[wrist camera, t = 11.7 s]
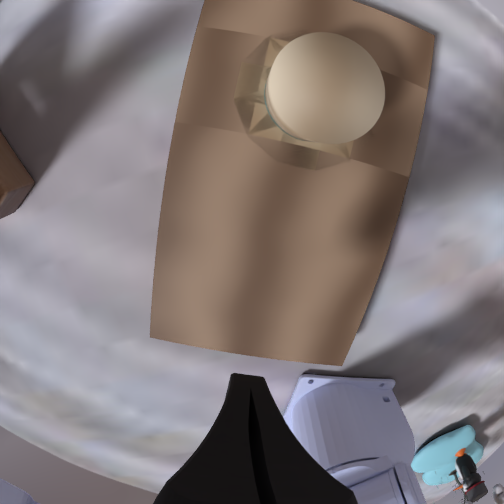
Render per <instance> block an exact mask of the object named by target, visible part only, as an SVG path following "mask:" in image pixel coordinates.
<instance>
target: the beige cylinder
mask: <svg viewBox="0 0 504 504" xmlns="http://www.w3.org/2000/svg"><path fill="white" fill-rule="evenodd" d="M264 98H265V104H266V108H267V111H268V113H269V115H270V117H271V119H272V120H273V121H274V123H275V124H276V125H277V126H278V127H279V128H280V129H281V130H282V131H283V132H285V133H286V134H288V135H290V136H291V137H294V138H296V139H299V140H302V141H308V142H317V143H325V144H341V143H346V142H350V141H353V140H355V139H357V138H359V137H361V136H363V135H364V134H366V133H367V132H368V131H369V130H370V129H371V128H372V127H373V126H374V125H375V123H376V122H377V120H378V119H379V117H380V115H381V112H382V110H383V106H384V101H385V86H384V81H383V77H382V74H381V71H380V69H379V67H378V65H377V64H376V62H375V60H374V59H373V58H372V56H371V55H370V54H369V53H368V52H367V51H366V50H365V49H364V48H363V47H362V46H360V45H359V44H357V43H356V42H355V41H353V40H351V39H349V38H347V37H344V36H342V35H338V34H334V33H327V32H316V33H310V34H306V35H303V36H300V37H298V38H296V39H294V40H293V41H291V42H290V43H288V44H287V45H286V46H285V47H284V48H283V49H282V50H281V51H280V52H279V54H278V55H277V57H276V59H275V61H274V63H273V65H272V68H271V70H270V73H269V76H268V78H267V81H266V84H265V90H264Z"/></svg>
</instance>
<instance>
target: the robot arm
mask: <svg viewBox="0 0 504 504" xmlns="http://www.w3.org/2000/svg"><path fill="white" fill-rule="evenodd" d="M311 379H312V380H311ZM309 380H311V381H309ZM394 386H395V381H394V380H393V379H371V378H350V377H335V376H321V375H310V374H304V375H302V376H300V378H299V380H298V382H297V385H296V387H295V390H294V392H293V395H292V397H291V399H290V402H289V404H288V406H287V409H286V411H285V413H284V416H283V417H282V415H281V413H280V411H279V409H278V407H277V406H276V404H275V402H274V399H273V397H272V395H271V393H270V391H269V388H268V386H267V383H266V381H265V379H264V377H260V376H252V375H244V374H237V373H233V374H231V377H230V381H229V385H228V389H227V393H226V398H225V401H224V404H223V406H222V409H221V411H220V413H219V415H218V417H217V419H216V420H215V422H214V424H213V426H212V428H211V429H210V431H209V432H208V434H207V436H206V437H205V439H204V440H203V441H202V443H201V444H200V446H199V447H198V448H197V450H196V451H195V452H194V453H193V455H192V456H191V457H190V458H189V459H188V460H187V462H186V463H185V464H184V465H183V466H182V467H181V468H180V469H179V470H178V471H177V472H176V473H175V474H174V475H173V476H172V477H171V478H170V479H169V480H168V481H167V482H166V484H165V485H164V487H163V488H162V490H161V491H160V493H159V494H158V496H157V497H156V499H155V501H154V503H153V504H427V503H426V501H425V498H424V496H423V493H422V491H421V488H420V486H419V483H418V481H417V478H416V476H415V473H414V471H413V469H412V467H411V463H412V461H413V458H414V452H415V442H414V436H413V433H412V430H411V428H410V426H409V424H408V422H407V419H406V417H405V415H404V413H403V411H402V409H401V407H400V405H399V403H398V401H397V399H396V397H395V395H394V393H393V391H392V389H393V387H394ZM0 504H40V503H37V502H35V501H34V500H33V498H32V497H31V496H30V495H29V494H28V493H27V492H25V491H24V490H22V489H20V488H18V487H16V486H14V485H12V484H11V483H9V482H7V481H5V480H3V479H1V478H0Z"/></svg>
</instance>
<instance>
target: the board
mask: <svg viewBox="0 0 504 504" xmlns="http://www.w3.org/2000/svg"><path fill="white" fill-rule="evenodd" d="M316 32H327V33H334V34H338V35H342V36H344V37H347V38H349V39H351V40H353V41H355V42H356V43H357V44H359V45H360V46H362V47H363V48H364V49H365V50H366V51H367V52H368V53H369V54H370V55H371V56H372V58H373V59H374V60H375V62H376V64H377V65H378V67H379V69H380V71H381V74H382V77H383V81H384V86H385V101H384V106H383V110H382V112H381V115H380V117H379V119H378V120H377V122H376V123H375V125H374V126H373V127H372V128H371V129H370V130H369V131H368V132H367V133H366V134H364V135H363V136H361V137H359V138H357V139H355V140H353V141H350V142H346V143H341V144H325V143H317V142H308V141H302V140H299V139H296V138H294V137H291V136H290V135H288V134H286V133H285V132H283V131H282V130H281V129H280V128H279V127H278V126H277V125H276V124H275V123H274V121H273V120H272V119H271V117H270V115H269V113H268V111H267V108H266V104H265V98H264V90H265V84H266V81H267V78H268V76H269V73H270V70H271V68H272V65H273V63H274V61H275V59H276V57H277V55H278V54H279V52H280V51H281V50H282V49H283V48H284V47H285V46H286V45H287V44H288V43H290V42H291V41H293V40H294V39H296V38H298V37H300V36H303V35H306V34H310V33H316ZM434 39H435V36H434V35H432V34H430V33H428V32H426V31H424V30H422V29H420V28H418V27H416V26H414V25H412V24H410V23H408V22H405V21H403V20H401V19H399V18H396V17H394V16H392V15H389V14H387V13H385V12H382V11H380V10H377V9H375V8H372V7H369V6H367V5H364V4H361V3H358V2H356V1H353V0H205V1H204V4H203V8H202V11H201V14H200V18H199V22H198V25H197V29H196V32H195V36H194V40H193V44H192V48H191V52H190V56H189V60H188V64H187V68H186V72H185V77H184V81H183V86H182V90H181V95H180V100H179V104H178V109H177V114H176V119H175V124H174V130H173V135H172V141H171V146H170V152H169V158H168V164H167V170H166V177H165V184H164V190H163V198H162V205H161V213H160V221H159V229H158V238H157V247H156V257H155V268H154V279H153V292H152V306H151V324H150V337H151V338H156V339H160V340H165V341H170V342H175V343H180V344H185V345H190V346H195V347H201V348H206V349H212V350H217V351H223V352H229V353H236V354H242V355H249V356H256V357H263V358H270V359H278V360H286V361H295V362H304V363H314V364H324V365H336V366H342V365H343V362H344V360H345V358H346V356H347V354H348V351H349V349H350V347H351V345H352V342H353V340H354V338H355V335H356V333H357V331H358V328H359V326H360V323H361V321H362V318H363V316H364V314H365V311H366V309H367V306H368V303H369V301H370V298H371V296H372V293H373V290H374V288H375V285H376V282H377V280H378V277H379V274H380V271H381V268H382V266H383V263H384V260H385V257H386V254H387V251H388V248H389V245H390V242H391V239H392V236H393V233H394V229H395V226H396V223H397V220H398V216H399V213H400V209H401V206H402V202H403V199H404V195H405V192H406V188H407V184H408V180H409V177H410V173H411V169H412V165H413V161H414V156H415V152H416V148H417V143H418V139H419V134H420V129H421V124H422V119H423V114H424V109H425V103H426V98H427V92H428V85H429V79H430V72H431V65H432V57H433V48H434Z"/></svg>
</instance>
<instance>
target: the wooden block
mask: <svg viewBox="0 0 504 504" xmlns="http://www.w3.org/2000/svg"><path fill="white" fill-rule="evenodd" d="M33 185H34V180H33V179H32V178H31V176H30V175H29V173H28V172H27V170H26V169H25V168H24V166H23V165H22V163H21V162H20V160H19V159H18V157H17V156H16V154H15V153H14V151H13V150H12V148H11V147H10V145H9V144H8V142H7V141H6V139H5V138H4V136H3V134H2V133H1V131H0V219H1V218H3V217H6V216H8V215H10V214H12V213H14V212H15V211H16V210H17V208H18V207H19V205H20V204H21V202H22V201H23V199H24V198H25V196H26V195H27V194H28V192H29V191H30V189H31V188H32V187H33Z"/></svg>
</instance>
